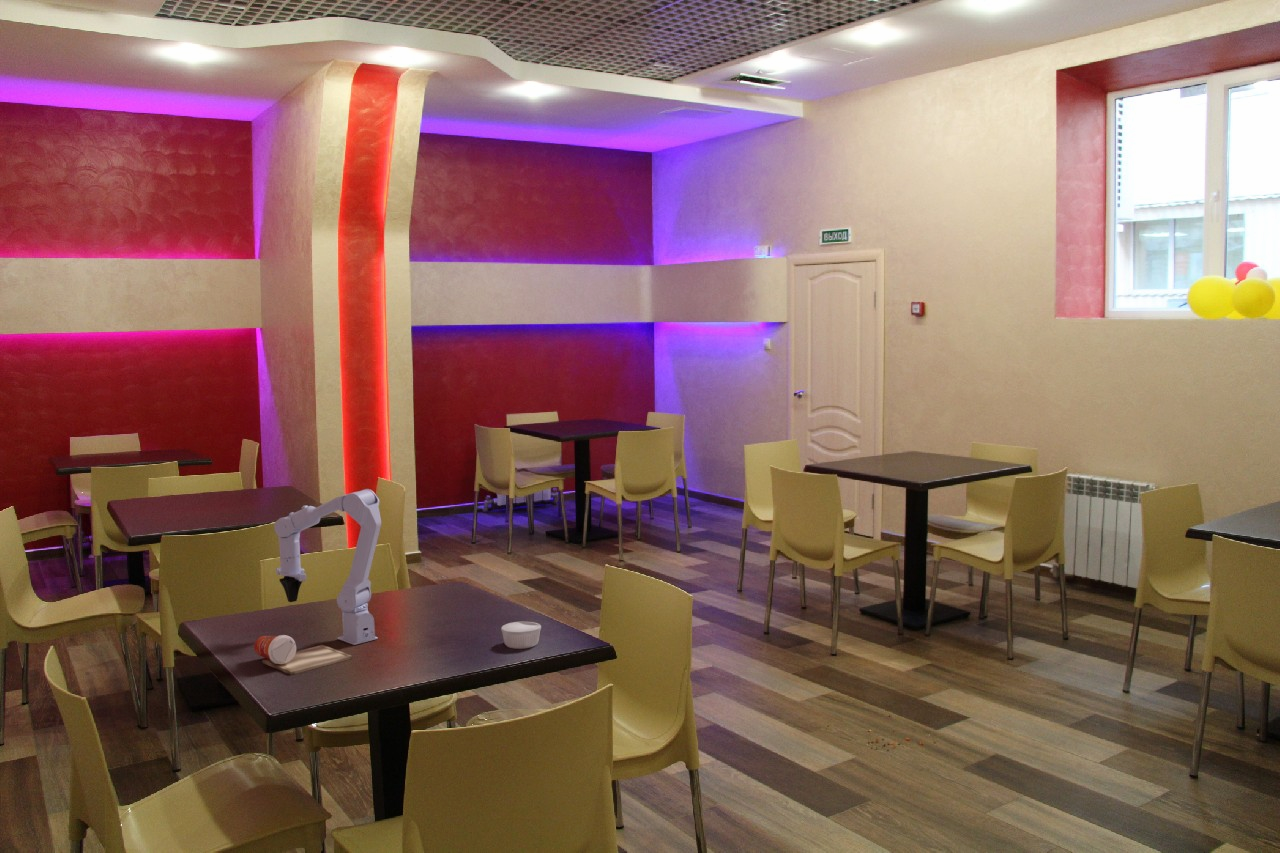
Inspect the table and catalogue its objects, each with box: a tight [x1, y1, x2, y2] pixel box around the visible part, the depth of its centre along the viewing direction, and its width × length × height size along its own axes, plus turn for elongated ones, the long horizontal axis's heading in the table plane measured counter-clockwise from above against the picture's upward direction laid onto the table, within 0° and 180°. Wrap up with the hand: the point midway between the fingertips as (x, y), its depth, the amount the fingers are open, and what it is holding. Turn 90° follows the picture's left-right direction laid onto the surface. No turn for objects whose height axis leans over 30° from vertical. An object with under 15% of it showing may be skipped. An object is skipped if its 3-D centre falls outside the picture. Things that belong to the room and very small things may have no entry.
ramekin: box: [500, 621, 542, 650], centre depth 299 cm, size 11×11×5 cm
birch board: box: [262, 644, 353, 676], centre depth 288 cm, size 16×18×1 cm
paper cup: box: [253, 634, 297, 664], centre depth 286 cm, size 8×8×14 cm
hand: (292, 601), depth 312 cm, fingers closed
